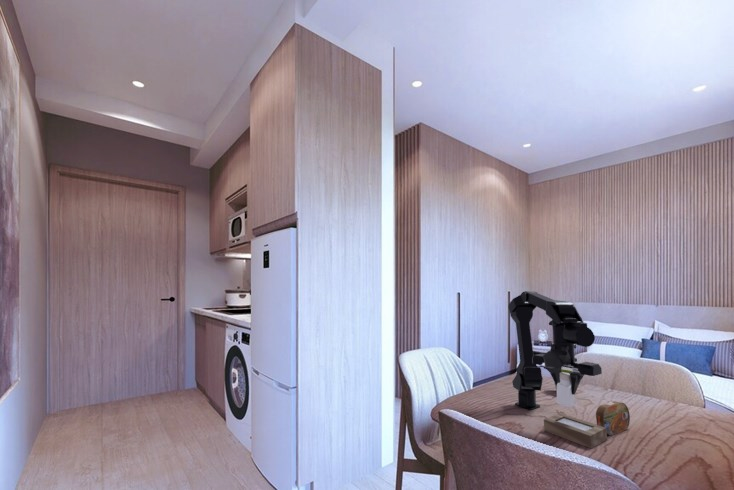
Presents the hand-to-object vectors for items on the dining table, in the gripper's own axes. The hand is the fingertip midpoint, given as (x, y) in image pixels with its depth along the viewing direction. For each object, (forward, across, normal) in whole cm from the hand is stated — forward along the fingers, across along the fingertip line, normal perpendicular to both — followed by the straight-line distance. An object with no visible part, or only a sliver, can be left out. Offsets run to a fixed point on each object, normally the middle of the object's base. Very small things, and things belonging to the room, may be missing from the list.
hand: (566, 392), depth 105 cm
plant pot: (+12, -22, +40) cm, 47 cm away
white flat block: (+10, +2, 0) cm, 10 cm away
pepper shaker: (+4, 0, 0) cm, 4 cm away
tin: (+12, +6, +14) cm, 20 cm away
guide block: (+12, +2, 0) cm, 12 cm away
